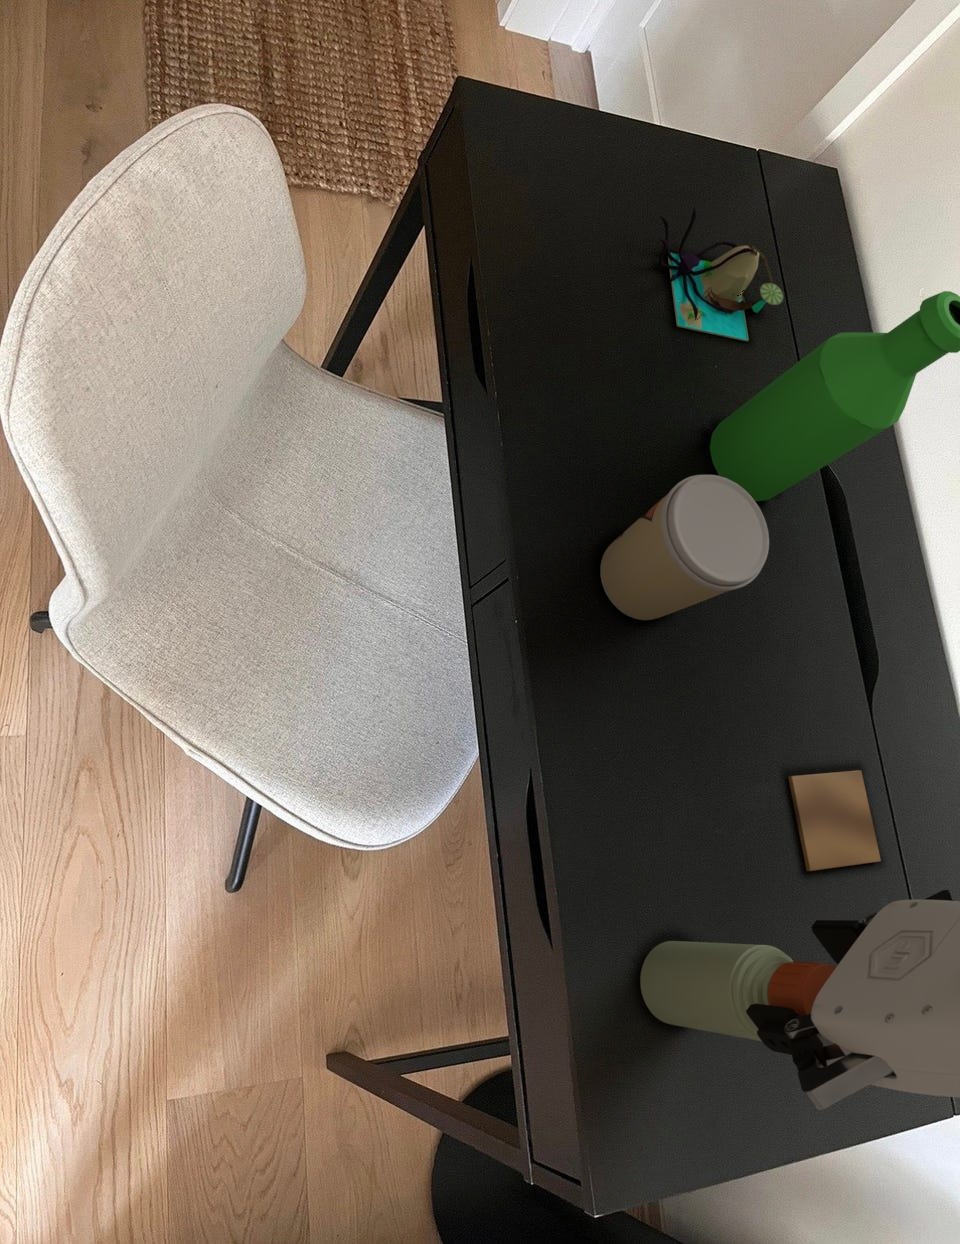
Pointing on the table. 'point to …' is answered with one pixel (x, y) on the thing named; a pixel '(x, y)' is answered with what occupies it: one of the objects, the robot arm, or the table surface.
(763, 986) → the sauce bottle
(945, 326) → the bottle
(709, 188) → the table surface
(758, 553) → the coffee cup
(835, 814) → the coaster
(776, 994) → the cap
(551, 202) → the table surface
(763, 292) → the diorama
